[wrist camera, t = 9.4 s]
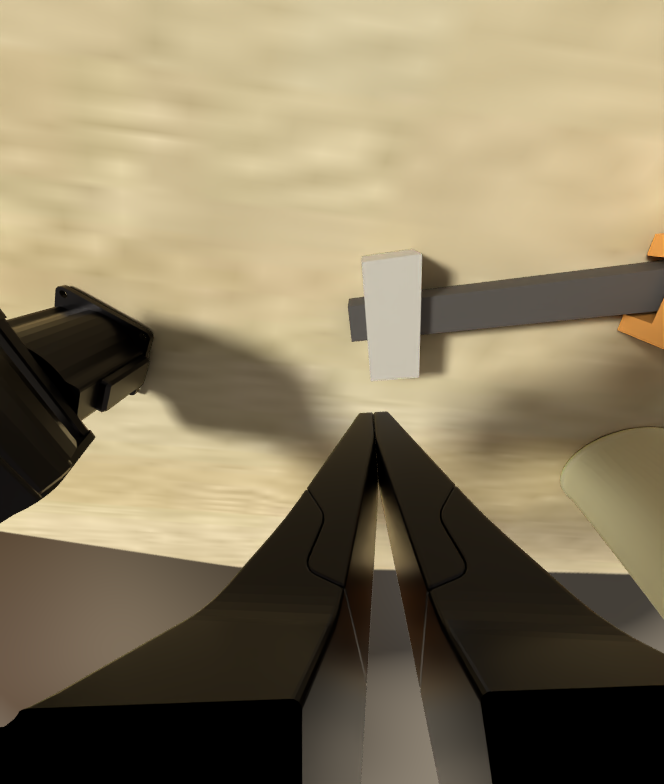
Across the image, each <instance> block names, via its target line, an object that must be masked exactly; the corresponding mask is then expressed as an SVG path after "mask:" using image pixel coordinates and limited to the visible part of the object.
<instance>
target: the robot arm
mask: <svg viewBox="0 0 664 784" xmlns="http://www.w3.org/2000/svg"><path fill="white" fill-rule="evenodd" d="M65 292H66V293H65ZM66 294H67V295H66ZM5 318H7V317H6V316H5V314H4V313H3V312H2V310H1V309H0V523H1V522H3V521H5V520H6V519H8V518H9V517H11V516H12V515H14V514H16V513H18V512H20V511H22V510H24V509H26V508H28V507H30V506H31V505H33V504H35V503H36V502H38V501H39V500H41V499H42V498H44V497H45V496H46V495H48V494H49V493H50V492H51V491H52V490H54V489H55V488H56V487H57V486H58V485H59V484H60V482H61V481H62V480H63V479H64V478H65V476H66V475H67V474H68V472H69V471H70V470H71V468H72V467H73V466H74V465H75V463H76V462H77V461H78V459H79V458H80V457H81V455H82V454H83V453H84V452H85V450H86V449H87V448H88V446H89V445H90V444H91V442H92V441H93V440H94V438H95V436H94V434H93V433H92V431H91V430H88V429H87V428H86V426H85V425H84V424H83V422H82V420H83V419H84V418H86V417H87V416H89V415H90V414H91V413H93V412H94V411H96V410H98V411H101V412H104V411H107V410H109V409H110V408H111V407H113V406H114V405H115V404H117V403H118V402H119V401H121V400H122V399H123V398H125V397H126V396H128V395H134V394H136V393H137V392H138V391H139V388H140V386H141V385H142V384H143V383H144V380H145V376H146V373H147V369H148V366H149V362H150V361H149V358H148V356H149V352H150V348H151V345H152V341H153V334H152V333H151V331H149V330H148V329H146V328H144V327H142V326H141V325H139V324H137V323H135V322H133V321H131V320H130V319H128V318H126V317H124V316H122V315H120V314H119V313H117V312H115V311H113V310H111V309H109V308H108V307H106V306H104V305H102V304H100V303H98V302H97V301H95V300H93V299H91V298H89V297H87V296H86V295H84V294H82V293H80V292H78V291H76V290H75V289H73V288H71V287H69V286H66V285H63V286H58V287H57V288H56V291H55V307H53V308H49V309H46V310H42V311H38V312H35V313H31V314H27V315H24V316H20V317H17V318H13V319H9V320H6V319H5ZM143 334H144V335H145V336H146V338H145V337H144V335H143ZM374 429H375V430H374ZM375 443H376V444H375ZM376 456H377V458H376ZM377 470H378V472H377ZM378 482H379V490H380V495H381V500H382V505H383V510H384V515H385V520H386V525H387V530H388V535H389V539H390V544H391V549H392V554H393V559H394V564H395V569H396V574H397V579H398V584H399V589H400V593H401V598H402V603H403V608H404V613H405V618H406V623H407V628H408V632H409V637H410V642H411V647H412V652H413V657H414V662H415V667H416V672H417V677H418V681H419V686H420V688H421V689H420V690H421V697H422V701H423V706H424V712H425V716H426V721H427V726H428V731H429V736H430V741H431V746H432V751H433V756H434V761H435V766H436V770H437V775H438V780H439V784H664V653H662V652H660V651H658V650H656V649H653V648H652V647H650V646H648V645H646V644H644V643H642V642H640V641H638V640H636V639H635V638H632V637H631V636H629V635H628V634H626V633H625V632H623V631H621V630H620V629H618V628H616V627H615V626H613V625H612V624H611V623H609V622H607V621H606V620H605V619H603V618H602V617H600V616H599V615H597V614H596V613H595V612H594V611H592V610H591V609H590V608H589V607H587V606H586V605H585V604H583V603H582V602H581V601H580V600H579V599H577V598H576V597H575V596H574V595H573V594H572V593H571V592H569V591H568V590H567V589H566V588H565V587H564V586H563V585H561V584H560V583H559V582H558V581H557V580H556V579H555V578H554V577H552V576H551V575H550V574H549V573H548V572H547V571H546V570H545V569H543V568H542V567H541V566H540V565H539V564H538V563H537V562H536V561H534V560H533V559H532V558H531V557H530V556H529V555H528V554H526V553H525V552H524V551H523V550H522V549H521V548H520V547H519V546H517V545H516V544H515V543H514V542H513V541H512V540H511V539H510V538H508V537H507V536H506V535H505V534H504V533H503V532H502V531H501V530H500V529H499V528H498V527H496V526H495V525H494V524H493V523H492V522H491V521H490V520H489V519H488V518H487V517H486V516H485V515H484V514H483V513H482V512H481V511H480V510H479V509H478V508H477V507H476V506H475V505H474V504H473V503H472V502H471V501H470V500H469V499H468V498H467V497H466V496H465V495H464V494H463V493H462V491H461V490H460V489H459V488H458V487H455V484H454V483H453V482H452V481H451V480H450V479H449V478H448V476H447V475H446V474H445V473H444V472H443V471H442V470H441V469H440V468H439V467H438V466H437V465H436V463H435V462H434V461H433V460H432V459H431V458H430V457H429V456H428V455H427V454H426V453H425V452H424V451H423V449H422V448H421V447H420V446H419V445H418V444H417V443H416V442H415V441H414V440H413V439H412V438H411V436H410V435H409V434H408V433H407V432H406V431H405V430H404V429H403V428H402V427H401V426H400V425H399V423H398V422H397V421H396V420H395V419H394V418H393V417H392V416H391V415H390V414H389V413H388V412H375V413H374V417H373V413H360V414H358V416H357V417H356V419H355V420H354V422H353V423H352V424H351V426H350V427H349V429H348V430H347V432H346V433H345V434H344V436H343V437H342V439H341V440H340V442H339V443H338V444H337V446H336V447H335V449H334V450H333V452H332V453H331V455H330V456H329V457H328V459H327V460H326V462H325V463H324V465H323V466H322V467H321V469H320V470H319V472H318V473H317V475H316V476H315V478H314V479H313V480H312V482H311V483H310V485H309V486H308V488H307V490H305V492H304V493H303V494H302V496H301V497H300V499H299V500H298V502H297V503H296V504H295V506H294V507H293V508H292V510H291V511H290V512H289V514H288V515H287V516H286V518H285V519H284V520H283V521H282V523H281V524H280V525H279V526H278V527H277V529H276V530H275V531H274V532H273V533H272V535H271V536H270V537H269V538H268V539H267V540H266V541H265V543H264V544H263V545H262V546H261V547H260V548H259V549H258V551H257V552H256V553H255V554H254V555H253V556H252V557H251V559H250V560H249V561H248V562H247V563H246V564H245V565H244V567H243V568H242V569H241V570H240V571H239V572H238V573H237V575H236V576H235V577H234V578H233V579H232V580H231V581H230V583H229V584H228V585H227V586H226V587H225V588H224V589H223V590H222V591H221V592H220V593H219V594H218V595H217V596H216V597H215V598H214V599H213V600H212V601H211V602H210V603H208V604H207V605H206V606H205V607H204V608H202V609H201V610H200V611H198V612H197V613H196V614H194V615H193V616H191V617H189V618H188V619H186V620H184V621H183V622H181V623H179V624H177V625H176V626H174V627H172V628H170V629H169V630H167V631H165V632H163V633H162V634H160V635H158V636H156V637H154V638H153V639H151V640H149V641H147V642H146V643H144V644H142V645H140V646H139V647H137V648H135V649H133V650H132V651H130V652H128V653H126V654H125V655H123V656H121V657H119V658H117V659H116V660H114V661H112V662H110V663H109V664H107V665H105V666H103V667H102V668H100V669H98V670H96V671H95V672H93V673H91V674H89V675H87V676H86V677H84V678H82V679H81V680H79V681H77V682H75V683H74V684H72V685H70V686H68V687H66V688H65V689H63V690H61V691H59V692H58V693H56V694H54V695H52V696H50V697H48V698H46V699H44V700H42V701H40V702H38V703H36V704H34V705H33V706H30V707H28V708H25V709H23V710H21V711H19V713H18V715H17V716H16V717H15V719H14V720H13V721H11V722H10V723H9V724H7V725H6V726H5V727H0V784H361V774H362V757H363V741H364V723H365V706H366V690H367V686H366V683H367V673H368V655H369V638H370V622H371V605H372V589H373V572H374V555H375V538H376V521H377V505H378Z"/></svg>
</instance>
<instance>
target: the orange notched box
mask: <svg viewBox="0 0 664 784" xmlns="http://www.w3.org/2000/svg"><path fill="white" fill-rule="evenodd" d="M647 255H649V256H658V257H664V233H661V234H655V237H654V239H653V242H652V244H651V247H650V249H649V252H648V254H647ZM618 331H621V332H623V333H626V334H628V335H630V336H633V337H635V338H638V339H640V340H642V341H645V342H647V343H650V344H652V345H654V346H657V347H659V348H661V349H664V299H663V301H662V303H661V305H660V308H659V310H658V311H653V312H643V313H633V314H623V317H622V320H621V322H620V325H619V327H618Z"/></svg>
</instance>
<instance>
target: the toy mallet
mask: <svg viewBox="0 0 664 784" xmlns="http://www.w3.org/2000/svg"><path fill="white" fill-rule="evenodd" d="M361 260H362V274H363V287H364V297H360V298H352V299H349V303H348V311H349V321H350V330H351V339H352V342H354V341H364V340H368V352H369V365H370V378H371V381H380V380H393V379H405V378H418V377H419V361H420V335H424V334H434V333H444V332H454V331H464V330H474V329H484V328H494V327H504V326H514V325H524V324H533V323H543V322H553V321H563V320H573V319H583V318H593V317H603V316H613V315H623V314H633V313H643V312H653V311H658V310H659V308H660V305H661V303H662V301H663V299H664V260H661V261H653V262H645V263H637V264H628V265H620V266H612V267H604V268H596V269H588V270H580V271H571V272H563V273H555V274H547V275H539V276H531V277H523V278H514V279H506V280H498V281H490V282H482V283H474V284H466V285H457V286H449V287H441V288H433V289H425V290H421V279H422V253H420V252H418V251H416V250H414V249H408V250H401V251H394V252H387V253H380V254H373V255H367V256H361Z"/></svg>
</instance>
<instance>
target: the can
mask: <svg viewBox="0 0 664 784" xmlns="http://www.w3.org/2000/svg"><path fill="white" fill-rule="evenodd" d="M560 484H561V487H562V490H563V492H564V493H565V494H566V495H567V496H568V497H569V498H570V499H571V500H572V501H573V502H574V503H575V504H576V506H577V507H578V508H579V509H580V510H581V512H582V513H583V514H584V515H585V517H586V518H587V519H588V521H589V522H590V523H591V524H592V526H593V527H594V528H595V530H596V531H597V532H598V533H599V535H600V536H601V537H602V539H603V540H604V541H605V543H606V544H607V545H608V546H609V548H610V549H611V550H612V552H613V553H614V554H615V556H616V557H617V558H618V559H619V561H620V562H621V563H622V565H623V566H624V567H625V569H626V570H627V571H628V573H629V574H630V575H631V577H632V578H633V579H634V580H635V582H636V583H637V584H638V586H639V587H640V588H641V589H642V591H643V592H644V594H645V595H646V596H647V598H648V599H649V600H650V602H651V603H652V604H653V606H654V607H655V608H656V610H657V611H658V612H659V613H660V615H661V616H662V618H663V619H664V428H658V427H642V428H633V429H627V430H623V431H619V432H616V433H612V434H609V435H607V436H604V437H602V438H600V439H598V440H596V441H594V442H592V443H590V444H588V445H587V446H585V447H584V448H582V449H581V450H579V451H578V452H577V453H576V454H575V455H573V457H572V458H571V459H570V460H569V461H568V462H567V464H566V465H565V466H564V468H563V470H562V473H561V477H560Z"/></svg>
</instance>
